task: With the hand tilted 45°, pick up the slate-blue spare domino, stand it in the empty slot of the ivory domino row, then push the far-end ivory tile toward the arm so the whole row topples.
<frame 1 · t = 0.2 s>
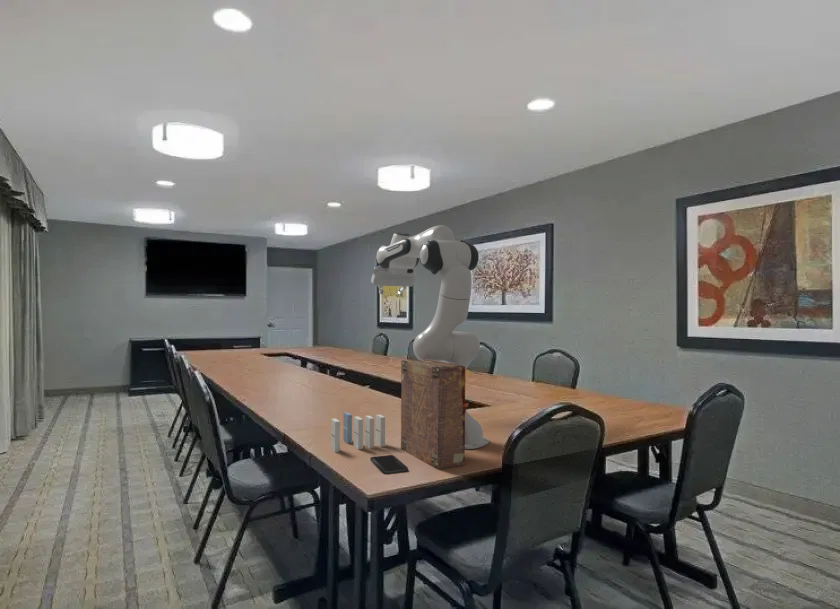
hand: (390, 293, 235), 54 cm above the table, tool tilted 30°, fingers open, 8 cm apart
spare domino: (347, 441, 180), on the table
domino 4: (369, 446, 174), on the table
phone: (388, 467, 153), on the table
domino 5: (380, 444, 176), on the table
book: (431, 457, 162), on the table
domino 3: (358, 447, 173), on the table
domino 1: (335, 450, 169), on the table
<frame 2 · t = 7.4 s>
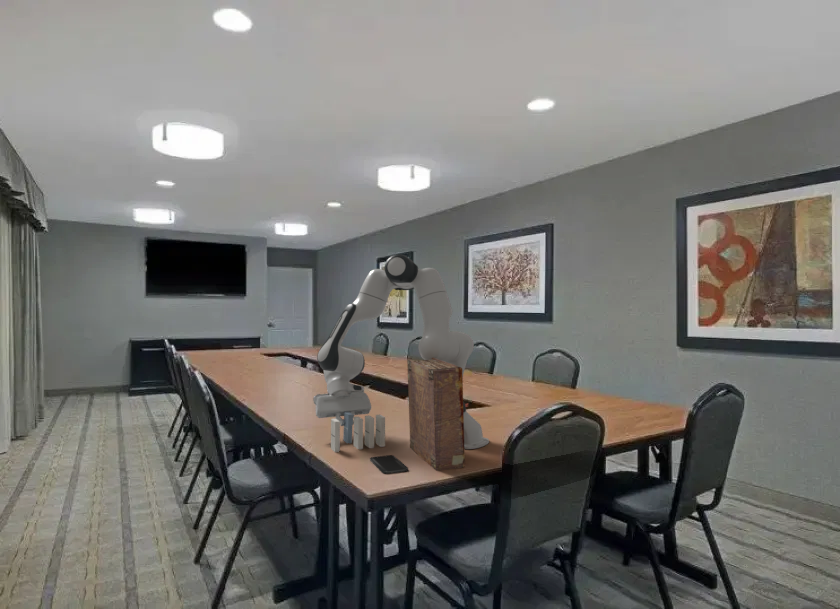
hand: (347, 424, 181), 6 cm above the table, tool tilted 45°, fingers closed on spare domino, 2 cm apart
spare domino: (347, 441, 180), on the table, touching gripper
book: (435, 457, 162), on the table, touching arm
everything else where it was.
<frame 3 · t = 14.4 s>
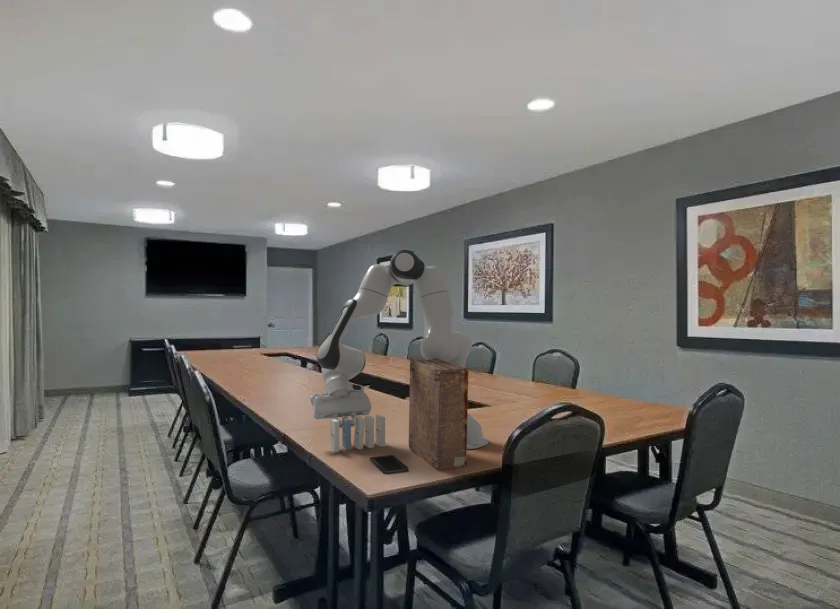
hand: (346, 426, 172), 7 cm above the table, tool tilted 45°, fingers open, 3 cm apart
spare domino: (346, 448, 171), on the table
domino 3: (358, 447, 173), on the table, touching gripper
domino 1: (335, 450, 169), on the table, touching gripper
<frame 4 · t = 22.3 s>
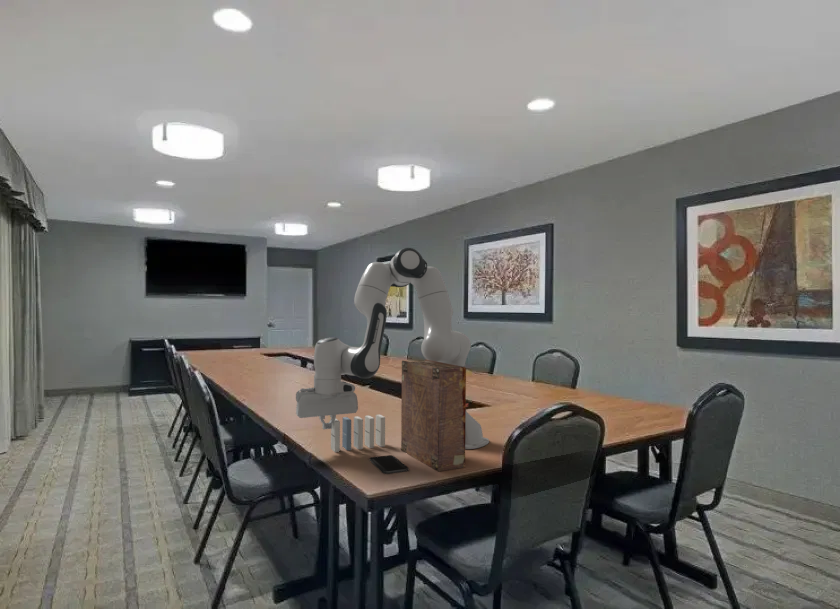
hand: (327, 428, 168), 7 cm above the table, tool pointing down, fingers closed
book: (431, 459, 160), on the table
domino 3: (358, 447, 173), on the table
everything else where it was.
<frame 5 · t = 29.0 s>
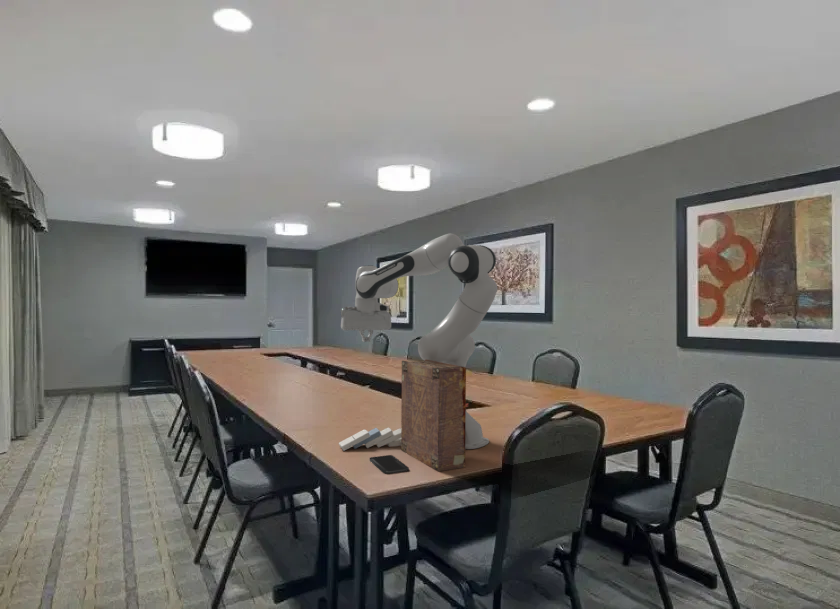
hand: (366, 341, 201), 34 cm above the table, tool pointing down, fingers closed
spare domino: (352, 445, 173), point 1 cm above the table, tilted 66°, touching domino 3
domino 4: (376, 443, 175), point 1 cm above the table, tilted 70°, touching domino 3, domino 5
domino 5: (387, 442, 176), point 1 cm above the table, tilted 90°, touching domino 4
domino 3: (364, 444, 174), point 1 cm above the table, tilted 66°, touching domino 4, spare domino
domino 1: (340, 446, 170), point 1 cm above the table, tilted 66°
everything else where it was.
at the end: domino 5 tilted 90°; spare domino inside the target area (2.6 cm from its centre), point 0.7 cm above the table; spare domino tilted 66° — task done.
